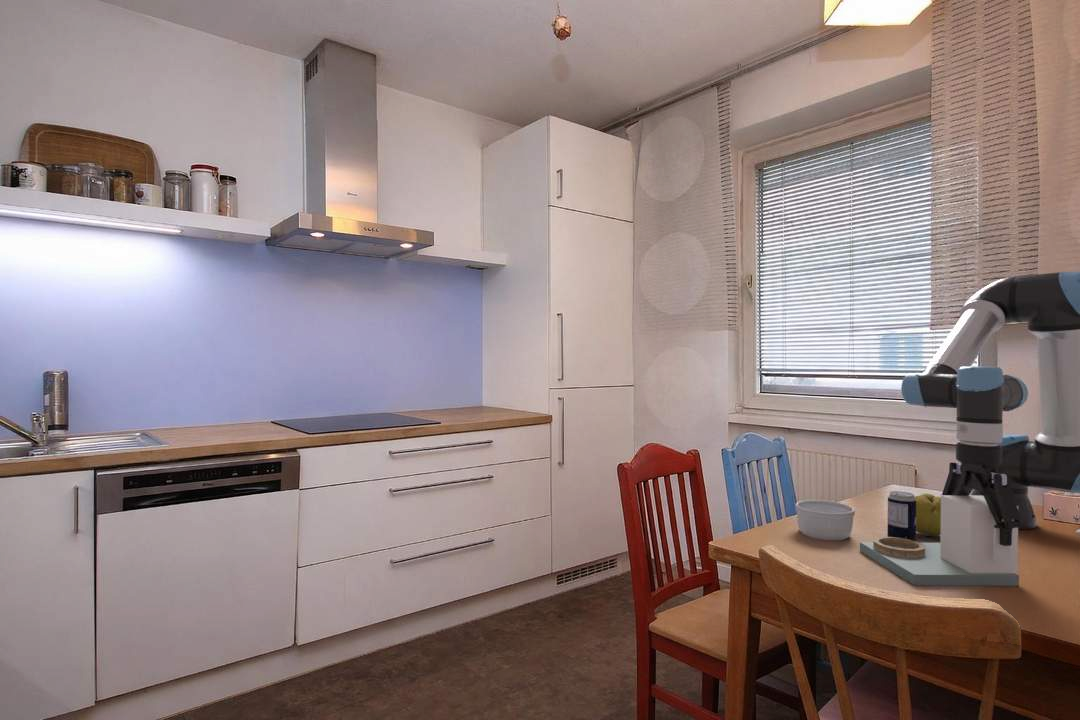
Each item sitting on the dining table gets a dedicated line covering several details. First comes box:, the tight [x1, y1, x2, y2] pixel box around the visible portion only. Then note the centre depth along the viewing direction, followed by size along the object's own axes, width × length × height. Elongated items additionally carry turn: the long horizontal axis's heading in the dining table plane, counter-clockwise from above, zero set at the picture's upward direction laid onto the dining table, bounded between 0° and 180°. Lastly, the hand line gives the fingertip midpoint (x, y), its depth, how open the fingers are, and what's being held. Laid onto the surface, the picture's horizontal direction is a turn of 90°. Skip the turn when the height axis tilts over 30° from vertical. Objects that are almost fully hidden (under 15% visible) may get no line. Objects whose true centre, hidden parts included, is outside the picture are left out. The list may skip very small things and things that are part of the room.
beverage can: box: [886, 491, 917, 541], centre depth 140 cm, size 6×6×12 cm
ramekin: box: [795, 499, 856, 541], centre depth 149 cm, size 13×13×7 cm
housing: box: [939, 494, 1019, 574], centre depth 121 cm, size 9×9×13 cm
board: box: [859, 541, 1020, 587], centre depth 126 cm, size 20×20×12 cm
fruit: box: [914, 493, 941, 537], centre depth 147 cm, size 11×12×10 cm
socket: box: [872, 536, 925, 558], centre depth 130 cm, size 10×10×2 cm
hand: (977, 550), depth 121 cm, fingers open, 12 cm apart
